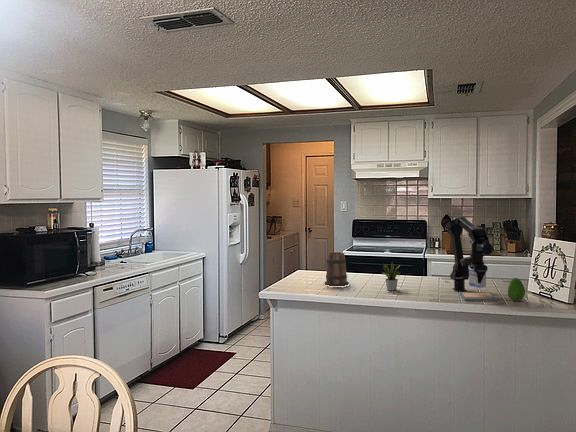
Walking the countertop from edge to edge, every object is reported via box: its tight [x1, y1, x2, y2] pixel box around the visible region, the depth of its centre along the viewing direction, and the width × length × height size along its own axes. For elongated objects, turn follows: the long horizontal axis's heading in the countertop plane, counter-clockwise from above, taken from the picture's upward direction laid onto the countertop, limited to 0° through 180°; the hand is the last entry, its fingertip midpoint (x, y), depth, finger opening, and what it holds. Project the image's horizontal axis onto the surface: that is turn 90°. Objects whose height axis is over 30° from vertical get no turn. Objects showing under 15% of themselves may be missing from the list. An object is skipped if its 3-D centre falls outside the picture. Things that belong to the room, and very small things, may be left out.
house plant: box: [378, 261, 401, 292], centre depth 282 cm, size 14×14×16 cm
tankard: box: [323, 251, 350, 286], centre depth 304 cm, size 24×17×20 cm
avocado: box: [507, 277, 526, 302], centre depth 246 cm, size 8×8×12 cm
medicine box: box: [468, 268, 487, 289], centre depth 257 cm, size 8×4×9 cm, turn 23°
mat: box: [458, 291, 499, 302], centre depth 257 cm, size 16×16×1 cm
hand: (477, 281), depth 257 cm, fingers closed on medicine box, 9 cm apart
